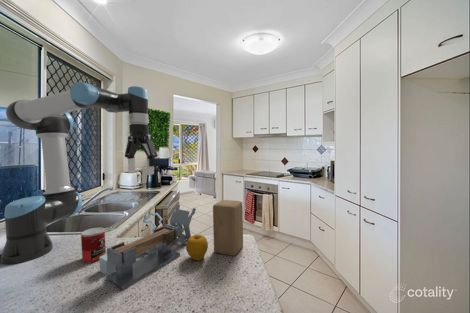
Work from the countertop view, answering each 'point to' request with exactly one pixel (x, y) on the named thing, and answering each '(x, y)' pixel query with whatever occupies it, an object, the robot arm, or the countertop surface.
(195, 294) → the countertop surface
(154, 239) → the rail
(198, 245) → the apple
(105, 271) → the rest block
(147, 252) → the rest block
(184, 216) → the bracket
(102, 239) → the canned food
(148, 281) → the countertop surface
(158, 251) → the bracket
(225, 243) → the wooden block
